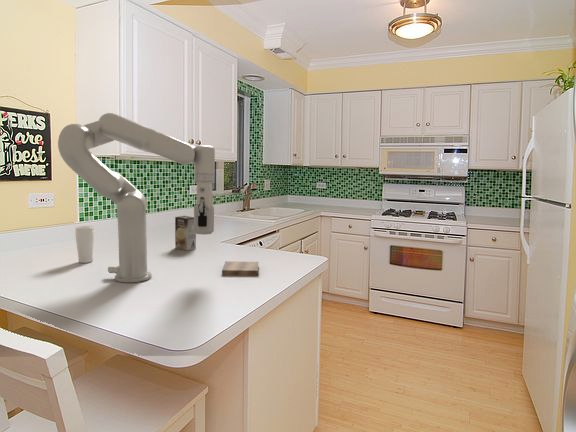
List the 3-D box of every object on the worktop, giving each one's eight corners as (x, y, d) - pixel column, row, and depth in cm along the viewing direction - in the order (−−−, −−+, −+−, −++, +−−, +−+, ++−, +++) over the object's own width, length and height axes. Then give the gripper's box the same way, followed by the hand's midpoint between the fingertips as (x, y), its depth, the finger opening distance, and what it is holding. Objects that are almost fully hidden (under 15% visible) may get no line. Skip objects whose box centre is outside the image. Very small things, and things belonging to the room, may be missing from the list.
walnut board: (222, 275, 150) (222, 270, 150) (225, 265, 164) (225, 261, 164) (258, 275, 151) (258, 270, 151) (258, 266, 165) (258, 261, 165)
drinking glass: (97, 262, 164) (96, 227, 162) (80, 264, 159) (78, 228, 157) (91, 259, 168) (89, 225, 166) (74, 261, 163) (72, 226, 161)
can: (205, 230, 154) (205, 200, 152) (217, 233, 149) (218, 202, 147) (189, 232, 148) (189, 201, 146) (202, 235, 143) (202, 203, 142)
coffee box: (174, 248, 195) (174, 216, 193) (184, 246, 201) (184, 215, 199) (187, 250, 191) (187, 218, 189) (196, 248, 196) (196, 217, 194)
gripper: (211, 179, 137) (211, 228, 140) (216, 178, 155) (216, 221, 157) (190, 179, 137) (189, 228, 139) (198, 177, 154) (197, 221, 156)
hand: (204, 224), depth 148 cm, fingers closed on can, 7 cm apart
